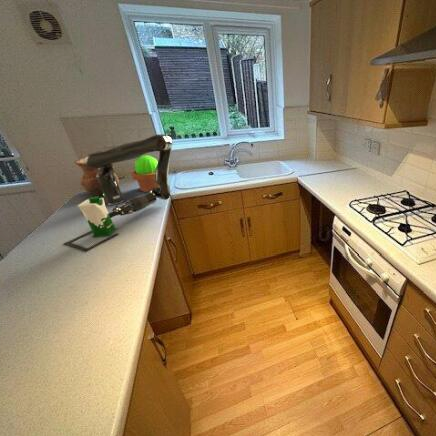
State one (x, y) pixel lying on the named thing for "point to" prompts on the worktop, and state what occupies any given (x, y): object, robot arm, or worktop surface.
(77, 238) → the dark flat u-shaped piece
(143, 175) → the potted cactus
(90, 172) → the jug
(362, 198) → the worktop surface
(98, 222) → the soya milk
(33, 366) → the worktop surface
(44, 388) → the worktop surface
